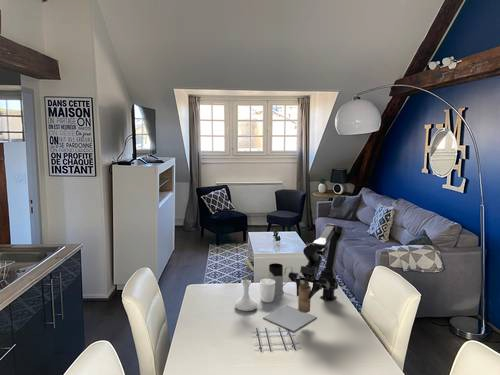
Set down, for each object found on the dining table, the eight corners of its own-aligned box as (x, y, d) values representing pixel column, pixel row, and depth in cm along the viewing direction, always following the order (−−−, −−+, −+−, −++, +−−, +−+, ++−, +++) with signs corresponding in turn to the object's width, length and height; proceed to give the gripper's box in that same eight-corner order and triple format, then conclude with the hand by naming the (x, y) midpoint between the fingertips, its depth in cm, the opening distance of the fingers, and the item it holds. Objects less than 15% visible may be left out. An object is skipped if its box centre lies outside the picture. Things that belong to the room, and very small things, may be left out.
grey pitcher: (265, 289, 214) (265, 263, 211) (288, 286, 218) (289, 261, 216) (270, 295, 205) (271, 269, 203) (295, 292, 210) (295, 266, 207)
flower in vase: (257, 313, 186) (257, 263, 182) (234, 313, 186) (233, 263, 182) (257, 301, 199) (257, 255, 195) (235, 301, 199) (235, 254, 195)
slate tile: (286, 306, 193) (286, 305, 193) (316, 318, 181) (316, 316, 181) (263, 318, 181) (263, 317, 180) (293, 332, 168) (293, 331, 168)
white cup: (275, 296, 204) (275, 278, 203) (274, 303, 197) (275, 284, 195) (260, 296, 205) (260, 278, 204) (259, 302, 197) (259, 284, 196)
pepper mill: (305, 306, 178) (305, 279, 176) (312, 310, 174) (313, 283, 172) (295, 308, 176) (296, 282, 174) (303, 313, 171) (303, 286, 169)
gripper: (290, 254, 179) (279, 285, 172) (328, 262, 170) (318, 294, 162) (296, 265, 187) (286, 295, 180) (333, 273, 178) (324, 304, 170)
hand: (303, 297), depth 173 cm, fingers closed on pepper mill, 5 cm apart
